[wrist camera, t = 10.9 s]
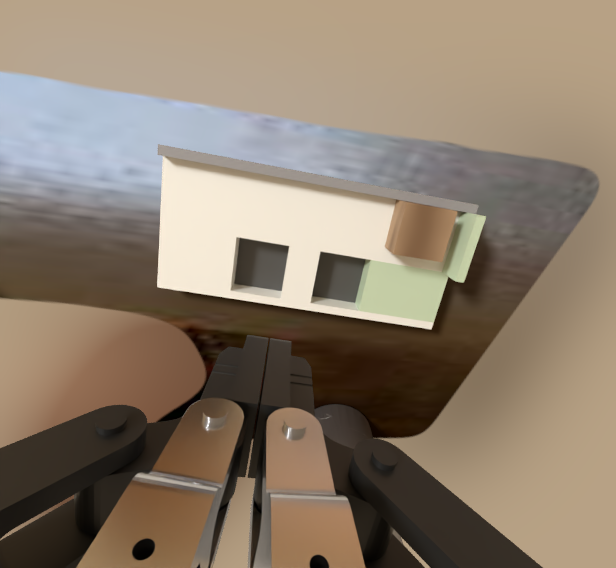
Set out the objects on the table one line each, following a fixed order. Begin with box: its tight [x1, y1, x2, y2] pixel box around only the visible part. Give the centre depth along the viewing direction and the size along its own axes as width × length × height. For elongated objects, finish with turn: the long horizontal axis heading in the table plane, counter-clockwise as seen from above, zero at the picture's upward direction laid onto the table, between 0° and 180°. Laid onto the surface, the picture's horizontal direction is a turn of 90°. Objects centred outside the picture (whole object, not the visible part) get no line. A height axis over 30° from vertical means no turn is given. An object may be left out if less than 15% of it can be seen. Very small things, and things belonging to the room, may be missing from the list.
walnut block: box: [385, 199, 458, 262], centre depth 30 cm, size 4×4×3 cm
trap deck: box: [157, 144, 486, 329], centre depth 32 cm, size 28×13×6 cm, turn 80°
